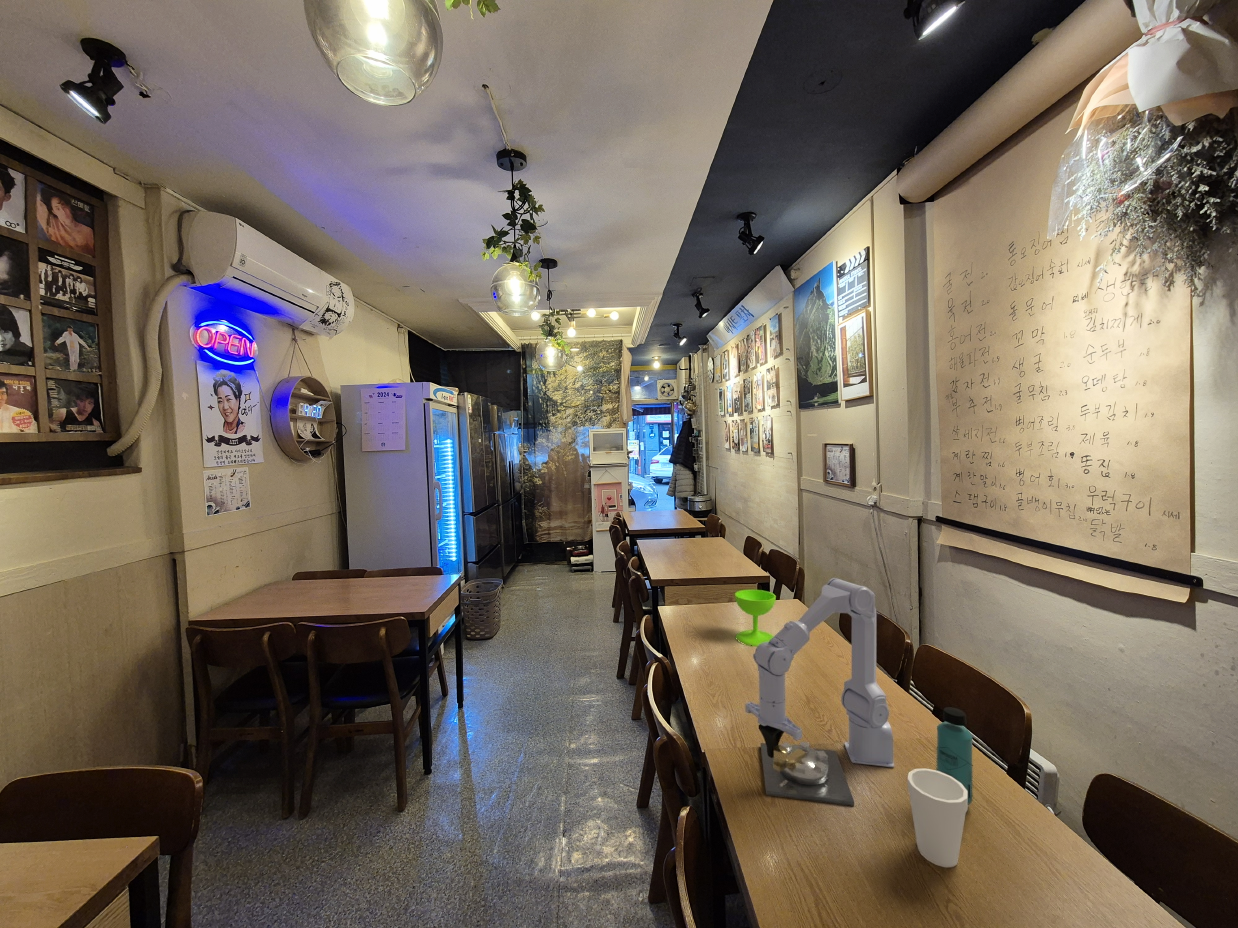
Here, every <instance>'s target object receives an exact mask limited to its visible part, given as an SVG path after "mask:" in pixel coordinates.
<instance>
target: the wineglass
mask: <svg viewBox="0 0 1238 928" xmlns="http://www.w3.org/2000/svg"><path fill="white" fill-rule="evenodd" d="M734 598H735V602H736V604H737V606H738V607H739V608H740V610H742V611H743V612H745V614H747V615H750V616H752V630H751V629H750V630H749V629H748V630H743V631H739V632H738V633H737V634H736V635H735V639H736V638H737V640H739V641H740V642H742V643H744V644H746V645H745V646H747V645H752V646H758V645H759V644H761V643H763V642H765V643H766V642H769V641H770V640H771V639H772V638H773V637H774V636H775V635H773V634H772V633H769V632H767V631H763V630H759V616H763V615H765V614H767V613H769V612H770V611H771V610H772V609H773V608H774V606H775V603H776V598H777V596H776V595H775V594H774V593H773V592H770V591H767V590H762V589H742V590H738V591H736V592H735V593H734ZM737 640H736V641H737ZM744 644H743V645H744ZM752 646H751V647H752Z"/></svg>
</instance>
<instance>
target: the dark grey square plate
mask: <svg viewBox="0 0 1238 928" xmlns="http://www.w3.org/2000/svg"><path fill="white" fill-rule="evenodd" d="M778 746H781V744H778ZM812 748H813V749H815V750H817V751H824V752H825V753H826V755H827V756H828V760H827V761H828V778H827V780H826V781H825V782H823V783H821V784H817V785H806V784H801V783H797V782H795V781H792V780H790V779H789V778H787V777H786V776H785V775H783V773H782V772H779V771H777V770H776V769H774V768H773V763H774V757H773V758H770V757H769V756H768V754H767V746H766V743H765V742H760V753H761V763H762V770H763V778H764V787H765V794H766V796H769V797H770V796H771V797H779V798H780V797H781V798H788V799H789V798H790V799H795V800H803V801H811V802H819V803H827V804H835V805H841V806H848V807H849V806H851V807H855V800H854V797H853V794H852V791H851V789H850V786H849V783H848V780H847V778H846V775H845V772H844V769H843V767H842V765H841V762H840V759H839V756H838V753H837V751H836V750H832V749H822V748H814V747H812Z"/></svg>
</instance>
